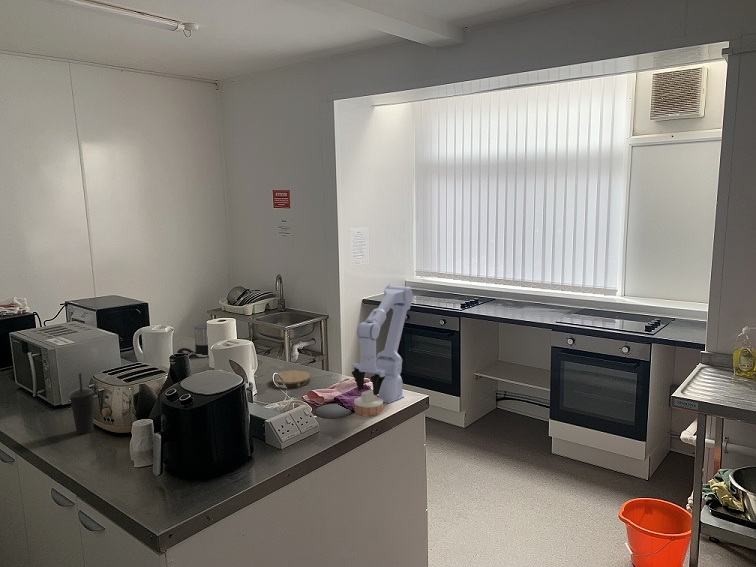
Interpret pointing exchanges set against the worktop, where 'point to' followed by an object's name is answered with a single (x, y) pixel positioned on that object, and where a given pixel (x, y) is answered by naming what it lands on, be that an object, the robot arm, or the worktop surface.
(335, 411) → the mat
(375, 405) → the lid
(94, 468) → the worktop surface
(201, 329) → the milk frother
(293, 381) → the brown round disc
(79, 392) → the drinking cup
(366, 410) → the bowl
